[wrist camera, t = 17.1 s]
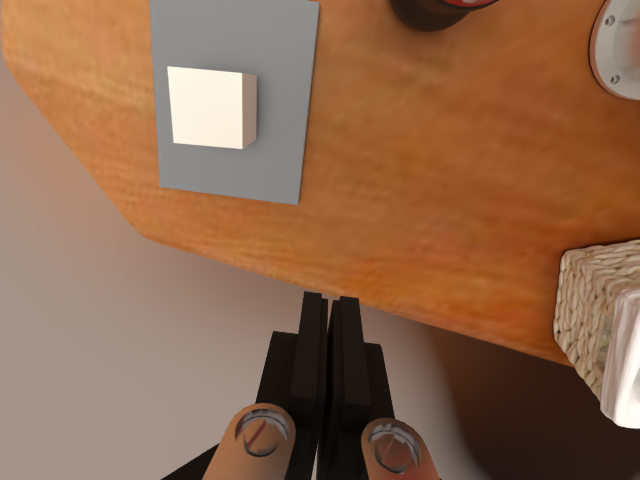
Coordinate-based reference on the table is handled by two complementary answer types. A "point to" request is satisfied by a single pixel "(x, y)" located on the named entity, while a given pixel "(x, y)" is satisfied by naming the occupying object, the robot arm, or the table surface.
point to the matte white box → (212, 107)
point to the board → (272, 91)
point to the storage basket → (603, 324)
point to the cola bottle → (435, 12)
